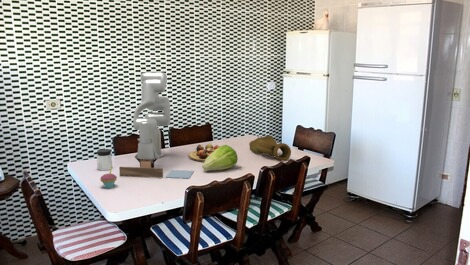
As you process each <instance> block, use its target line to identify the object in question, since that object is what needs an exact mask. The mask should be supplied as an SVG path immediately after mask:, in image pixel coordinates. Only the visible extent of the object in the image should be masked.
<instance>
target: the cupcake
mask: <svg viewBox="0 0 470 265" xmlns="http://www.w3.org/2000/svg"><path fill="white" fill-rule="evenodd" d="M112 168H113V165H112V166H111V168H110V171H109V173H105V174H102V175H101V176H100V182H101V183H102V184H103V186H104V188H106V189H107V188H108V189H109V188H113V187H114V186H115V183H116V181H117V178H118V177H117V175H116V174H114V173H112V171H113V170H112Z"/></svg>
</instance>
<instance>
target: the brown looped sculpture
mask: <svg viewBox="0 0 470 265" xmlns="http://www.w3.org/2000/svg"><path fill="white" fill-rule="evenodd" d="M248 143H249V144H248V146H249V151H251V152H252V153H254V154H255V155H258V154H259V155H262V154H265V155H268V156H269V155H271V156H270V157H274V156H275V157H274V158H275V159H277V160H278V161H280V162H282V161H281V160H286V161H288V160H289V159H290V157H291V155H292V149H291V147H290V146H289V144H287V143H285V142H284V143H282V142H280V143H277V141H276V140H275V138H274V137H273V136H272V135H271V134H270V135H266V136H265V135H264V136H262V137H260V136H259V137H257V138H256V139H254V140H251V141H250V142H248ZM279 149H280V151H281V152H282V153H281V154H278V150H279Z"/></svg>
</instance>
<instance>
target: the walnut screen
mask: <svg viewBox="0 0 470 265" xmlns="http://www.w3.org/2000/svg"><path fill="white" fill-rule="evenodd" d="M119 177H130V178H131V177H134V178H135V177H136V178H151V179H152V178H156V179H157V178H159V179H163V178H164V167H163V168H161V167H154V168H143V167H140V166H139V167H138V166H119Z"/></svg>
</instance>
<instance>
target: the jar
mask: <svg viewBox="0 0 470 265" xmlns="http://www.w3.org/2000/svg"><path fill="white" fill-rule="evenodd" d="M96 151H97V152H96V154H97V155H96V161H97V162H96V163H97V170H99V171H109V170H110V168H111V166H112V167H113V159H112V158H113V157H112V156H113V155H112V151H111V149H109V148H103V149H98V150H96Z"/></svg>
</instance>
